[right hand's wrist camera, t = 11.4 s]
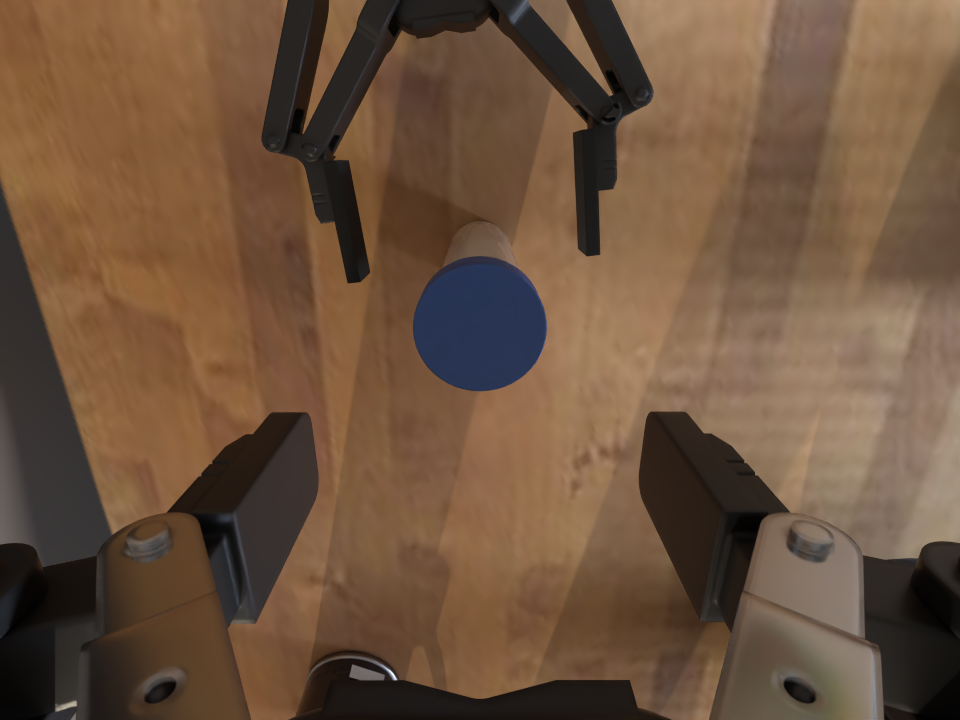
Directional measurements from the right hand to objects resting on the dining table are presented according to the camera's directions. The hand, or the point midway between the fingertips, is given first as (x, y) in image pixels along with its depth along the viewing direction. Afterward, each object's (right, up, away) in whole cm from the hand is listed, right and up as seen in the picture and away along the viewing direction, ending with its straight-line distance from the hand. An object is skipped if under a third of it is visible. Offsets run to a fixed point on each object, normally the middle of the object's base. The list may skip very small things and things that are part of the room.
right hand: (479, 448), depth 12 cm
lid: (0, +3, +8) cm, 9 cm away
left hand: (0, +8, +19) cm, 20 cm away
